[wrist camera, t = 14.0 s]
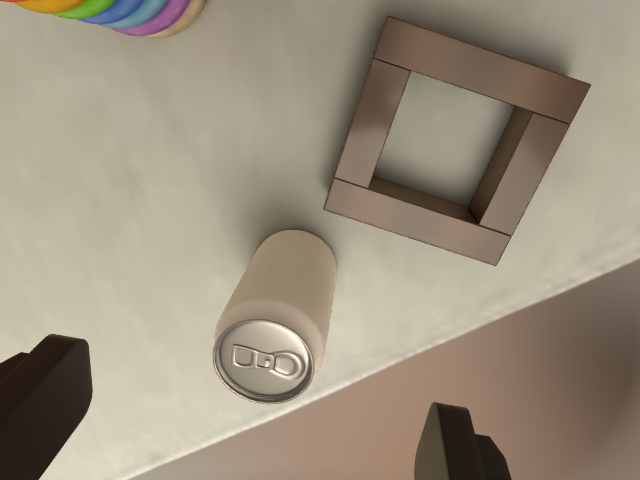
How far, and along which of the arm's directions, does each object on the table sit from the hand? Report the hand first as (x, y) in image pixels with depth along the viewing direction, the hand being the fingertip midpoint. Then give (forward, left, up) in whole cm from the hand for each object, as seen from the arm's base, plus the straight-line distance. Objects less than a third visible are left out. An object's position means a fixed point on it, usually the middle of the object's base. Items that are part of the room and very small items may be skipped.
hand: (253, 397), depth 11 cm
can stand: (+5, +5, -24) cm, 25 cm away
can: (+3, -9, -24) cm, 26 cm away
